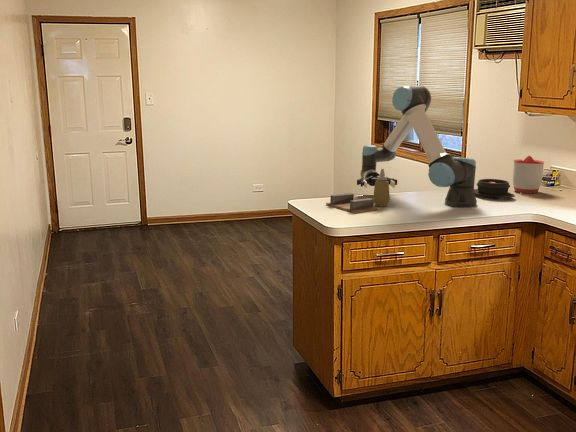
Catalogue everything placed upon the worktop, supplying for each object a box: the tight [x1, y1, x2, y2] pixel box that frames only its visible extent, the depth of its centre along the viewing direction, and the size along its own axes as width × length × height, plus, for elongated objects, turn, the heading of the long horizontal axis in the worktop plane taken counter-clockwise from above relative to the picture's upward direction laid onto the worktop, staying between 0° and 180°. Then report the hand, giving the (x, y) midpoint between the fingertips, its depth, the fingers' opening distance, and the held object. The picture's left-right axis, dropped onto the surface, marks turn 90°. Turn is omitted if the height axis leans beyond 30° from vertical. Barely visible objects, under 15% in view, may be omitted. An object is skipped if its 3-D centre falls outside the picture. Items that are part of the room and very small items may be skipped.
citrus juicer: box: [512, 155, 545, 194], centre depth 343 cm, size 16×17×20 cm
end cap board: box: [325, 192, 379, 214], centre depth 300 cm, size 22×14×5 cm, turn 33°
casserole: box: [474, 178, 516, 200], centre depth 329 cm, size 25×19×8 cm
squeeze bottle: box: [372, 168, 390, 208], centre depth 303 cm, size 8×8×18 cm
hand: (380, 185), depth 305 cm, fingers open, 13 cm apart
